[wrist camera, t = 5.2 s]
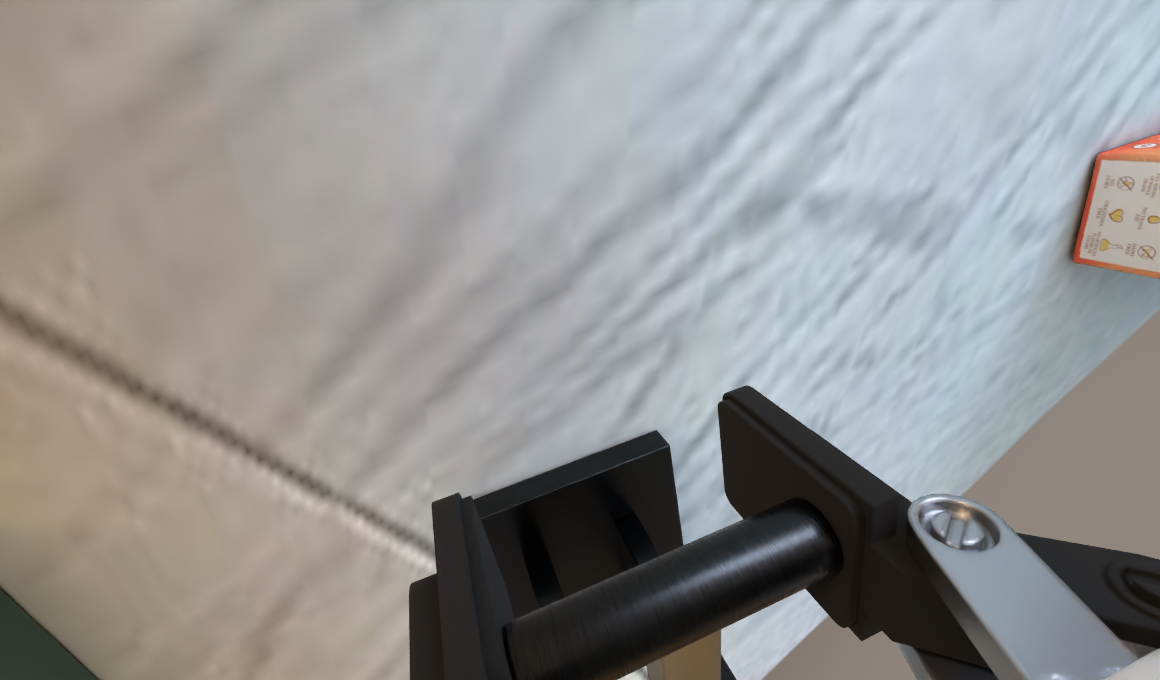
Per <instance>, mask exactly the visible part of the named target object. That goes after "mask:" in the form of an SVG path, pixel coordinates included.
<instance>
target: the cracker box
mask: <svg viewBox="0 0 1160 680" xmlns="http://www.w3.org/2000/svg"><path fill="white" fill-rule="evenodd" d="M1072 261H1073V262H1075V263H1079V264H1085V265H1091V266H1096V267H1101V268H1107V269H1112V270H1117V271H1122V272H1127V273H1133V274H1139V275H1144V276H1149V277H1154V278H1159V279H1160V134H1157V135H1154V136H1151V137H1148V138H1145V139H1142V140H1139V141H1136V142H1133V143H1129V144H1126V145H1123V146H1120V147H1117V148H1114V149H1111V150H1108V151H1105V152H1102V153H1099V154H1098V155H1097V158H1096V162H1095V167H1094V171H1093V176H1092V180H1091V184H1090V188H1089V192H1088V196H1087V200H1086V204H1085V208H1084V212H1083V217H1082V221H1081V225H1080V229H1079V233H1078V237H1077V241H1076V245H1075V250H1074V254H1073V259H1072Z"/></svg>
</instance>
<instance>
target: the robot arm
mask: <svg viewBox="0 0 1160 680" xmlns="http://www.w3.org/2000/svg"><path fill="white" fill-rule="evenodd" d="M718 416H719V428H720V439H721V451H722V463H723V474H724V486H725V493H726V496H727V498H728V500H729V502H730V504H731V505H732V506H733V507H734V508H735V510H736V511H737V512H738V513H739V514H740V515H741V516H742V517H743V519H746V518H748V517H750V516H752V515H755V514H757V513H759V512H762V511H764V510H766V509H768V508H771V507H773V506H775V505H778V504H780V503H782V502H784V501H787V500H789V499H791V498H802V499H805V500H807V501H808V502H810V503H811V504H813V505H814V506H815V507H816V508H817V509H818V510H819V511H820V512H821V513H822V514H823V515H824V517H825V518H826V519H827V521H828V522H829V524H830V525H831V527H832V528H833V530H834V532H835V534H836V536H837V538H838V540H839V543H840V546H841V549H842V553H843V565H842V567H841V569H840V570H839V572H838V573H836V574H834V575H832V576H830V577H828V578H826V579H824V580H821V581H819V582H817V583H815V584H813V585H811V586H809V587H807V588H805V589H806V590H807V591H808V592H809V593H810V594H811V595H812V597H813V598H814V599H815V600H816V601H817V602H818V603H819V604H820V606H821V607H822V608H823V609H824V610H825V611H826V612H827V614H828V615H829V616H830V617H831V618H832V619H833V620H834V621H835V622H836V623H837V624H838V625H839V626H841V627H843V628H846V627H849V628H850V629H851V630H852V631H853V632H854V634H855V635H856V636H857V637H858V638H859V639H860V640H861V641H863V640H865V639H867V638H869V637H870V636H873V635H874V634H876V633H878V632H880V631H883V632H884V633H885V634H886V635H887V636H888V637H889V638H890V639H891V640H892V641H894V642H897V644H898V646H899V648H900V650H901V652H902V654H903V655H904V657H905V659H906V661H907V663H908V664H909V666H910V668H911V670H912V671H913V673H914V675H915V677H916V679H917V680H1160V560H1159V559H1155V558H1151V557H1147V556H1143V555H1139V554H1133V553H1128V552H1122V551H1117V550H1111V549H1105V548H1099V547H1094V546H1088V545H1083V544H1077V543H1071V542H1066V541H1060V540H1054V539H1048V538H1043V537H1037V536H1031V535H1025V534H1020V533H1015V532H1014V530H1012V528H1010V526H1009V525H1007V523H1006V522H1005V521H1003V519H1002V518H1000V517H999V516H998V515H997V514H996V513H994V512H993V511H992V510H991V509H989V508H987V507H985V506H983V505H981V504H979V503H978V502H975V501H973V500H969V499H967V498H964V497H961V496H955V495H949V494H931V495H927V496H923V497H920V498H918V499H917V500H915V501H914V502H911V501H909V500H908V499H906V498H905V497H904V496H902V495H901V494H899V493H898V492H897V491H895V490H894V489H893V488H891V487H890V486H888V485H887V484H886V483H884V482H883V481H882V480H880V479H879V478H877V477H876V476H875V475H873V474H872V473H870V472H869V471H868V470H866V469H865V468H864V467H862V466H861V465H859V464H858V463H857V462H855V461H854V460H852V459H851V458H850V457H848V456H847V455H846V454H844V453H843V452H841V451H840V450H839V449H837V448H836V447H835V446H833V445H832V444H830V443H829V442H828V441H826V440H825V439H823V438H822V437H821V436H819V435H818V434H817V433H815V432H814V431H812V430H810V429H809V428H807V427H806V426H805V425H803V424H802V423H801V422H799V421H798V420H796V419H795V418H794V417H792V416H791V415H789V414H788V413H787V412H785V411H784V410H783V409H781V408H780V407H778V406H777V405H776V404H774V403H773V402H772V401H770V400H769V399H767V398H766V397H765V396H763V395H762V394H761V393H759V392H758V391H756V390H755V389H754V388H752V387H750V386H743V387H741V388H738V389H735V390H733V391H730V392H727V393H725V394H724V395H723V401H721V402H719V404H718ZM432 517H433V530H434V543H435V556H436V569H437V573H436V574H434V575H431V576H429V577H426V578H424V579H421V580H419V581H416V582H414V583H412V584H411V585H410V589H409V629H410V680H512V677H511V673H510V670H509V666H508V661H507V657H506V653H505V648H504V642H503V634H502V631H503V626H504V625H505V624H506V623H508V622H510V621H512V620H514V616H513V612H512V608H511V603H510V599H509V595H508V592H507V588H506V585H505V582H504V580H503V577H502V575H501V572H500V569H499V567H498V564H497V561H496V559H495V556H494V554H493V551H492V548H491V546H490V543H489V541H488V538H487V535H486V533H485V530H484V527H483V525H482V522H481V520H480V517H479V514H478V512H477V509H476V507H475V504H474V501H473V499H472V497H471V496H469V497H466V498H463V499H462V498H461V495H460V494H459V493H456V494H453V495H451V496H448V497H445V498H443V499H440V500H437V501H435V502H432Z"/></svg>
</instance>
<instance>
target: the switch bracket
mask: <svg viewBox="0 0 1160 680" xmlns="http://www.w3.org/2000/svg"><path fill="white" fill-rule="evenodd" d="M473 501H474V504H475V507H476V509H477V512H478V514H479V517H480V520H481V522H482V525H483V527H484V530H485V533H486V535H487V538H488V541H489V543H490V546H491V548H492V551H493V554H494V556H495V559H496V561H497V564H498V567H499V569H500V572H501V575H502V577H503V580H504V582H505V585H506V588H507V592H508V595H509V599H510V603H511V608H512V612H513V616H514V620H515V619H517V618H519V617H521V616H524V615H526V614H528V613H531V612H533V611H535V610H537V609H540V608H542V607H544V606H547V605H549V604H551V603H553V602H556V601H558V600H560V599H563V598H565V597H567V596H569V595H572V594H574V593H576V592H579V591H581V590H583V589H585V588H588V587H590V586H592V585H595V584H597V583H599V582H601V581H604V580H606V579H608V578H611V577H613V576H615V575H617V574H620V573H622V572H624V571H627V570H629V569H631V568H633V567H636V566H638V565H640V564H643V563H645V562H647V561H649V560H652V559H654V558H656V557H659V556H661V555H663V554H665V553H668V552H670V551H672V550H675V549H677V548H679V547H681V546H683V539H682V532H681V524H680V517H679V510H678V503H677V495H676V488H675V481H674V474H673V466H672V459H671V452H670V445H669V444H668V443H667V442H666V440H665V439H664V438H663V437H662V436H661V435H660V433H659V432H658V431H654V432H651V433H648V434H646V435H643V436H640V437H638V438H635V439H633V440H630V441H627V442H625V443H622V444H619V445H617V446H614V447H611V448H609V449H606V450H603V451H601V452H598V453H596V454H593V455H590V456H588V457H585V458H582V459H580V460H577V461H574V462H572V463H569V464H566V465H564V466H561V467H559V468H556V469H553V470H551V471H548V472H545V473H543V474H540V475H537V476H535V477H532V478H529V479H527V480H524V481H522V482H519V483H516V484H514V485H511V486H508V487H506V488H503V489H500V490H498V491H495V492H492V493H490V494H487V495H485V496H482V497H479V498H477V499H474V500H473ZM721 680H736V678H735V676H734V675H733V673H732V671H731V670H730V668H729V667H728V665H727V663H726V662H725V660H724V658H723V657H722V655H721Z"/></svg>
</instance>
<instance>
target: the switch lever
mask: <svg viewBox="0 0 1160 680" xmlns="http://www.w3.org/2000/svg"><path fill="white" fill-rule="evenodd" d="M842 565H843V553H842V549H841V546H840V543H839V540H838V538H837V536H836V534H835V532H834V530H833V528H832V527H831V525H830V524H829V522H828V521H827V519H826V518H825V517H824V515H823V514H822V513H821V512H820V511H819V510H818V509H817V508H816V507H815V506H814V505H813V504H811V503H810V502H808V501H807V500H805V499H802V498H791V499H789V500H787V501H784V502H782V503H780V504H778V505H775V506H773V507H771V508H768V509H766V510H764V511H762V512H759V513H757V514H755V515H752V516H750V517H748V518H746V519H743V520H741V521H739V522H736V523H734V524H732V525H729V526H727V527H725V528H723V529H720V530H718V531H716V532H713V533H711V534H709V535H707V536H704V537H702V538H700V539H697V540H695V541H693V542H691V543H688V544H686V545H684V546H681V547H679V548H677V549H675V550H672V551H670V552H668V553H665V554H663V555H661V556H659V557H656V558H654V559H652V560H649V561H647V562H645V563H643V564H640V565H638V566H636V567H633V568H631V569H629V570H627V571H624V572H622V573H620V574H617V575H615V576H613V577H611V578H608V579H606V580H604V581H601V582H599V583H597V584H595V585H592V586H590V587H588V588H585V589H583V590H581V591H579V592H576V593H574V594H572V595H569V596H567V597H565V598H563V599H560V600H558V601H556V602H553V603H551V604H549V605H547V606H544V607H542V608H540V609H537V610H535V611H533V612H531V613H528V614H526V615H524V616H521V617H519V618H517V619H515V620H512V621H510V622H508V623H506V624H505V625H504V626H503V631H502V634H503V642H504V648H505V653H506V657H507V661H508V666H509V670H510V673H511V677H512V680H617V679H619V678H621V677H624V676H626V675H628V674H630V673H632V672H634V671H636V670H638V669H640V668H642V667H644V666H646V665H647V671H648V677H649V680H721V629H723V628H725V627H727V626H729V625H731V624H733V623H735V622H737V621H739V620H741V619H743V618H745V617H747V616H749V615H751V614H753V613H756V612H758V611H760V610H762V609H764V608H766V607H768V606H770V605H772V604H774V603H776V602H778V601H780V600H782V599H784V598H786V597H789V596H791V595H793V594H795V593H797V592H799V591H801V590H803V589H805V588H807V587H809V586H811V585H813V584H815V583H817V582H819V581H821V580H824V579H826V578H828V577H830V576H832V575H834V574H836V573H838V572H839V570H840V569H841V567H842Z"/></svg>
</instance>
